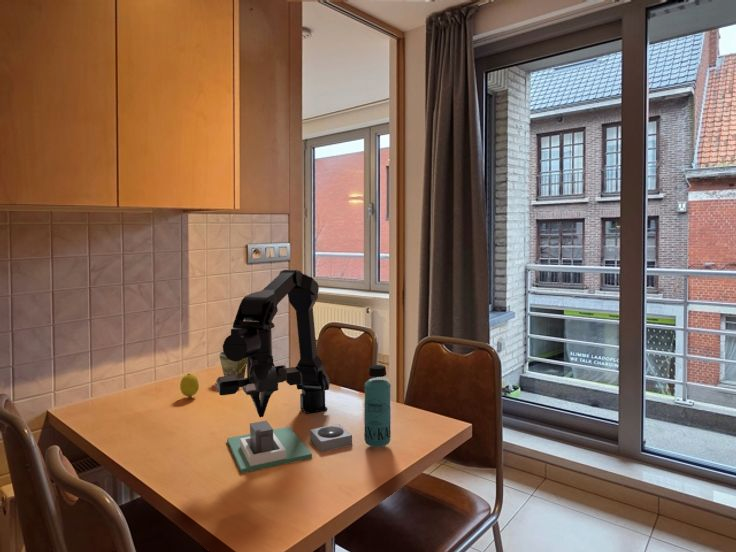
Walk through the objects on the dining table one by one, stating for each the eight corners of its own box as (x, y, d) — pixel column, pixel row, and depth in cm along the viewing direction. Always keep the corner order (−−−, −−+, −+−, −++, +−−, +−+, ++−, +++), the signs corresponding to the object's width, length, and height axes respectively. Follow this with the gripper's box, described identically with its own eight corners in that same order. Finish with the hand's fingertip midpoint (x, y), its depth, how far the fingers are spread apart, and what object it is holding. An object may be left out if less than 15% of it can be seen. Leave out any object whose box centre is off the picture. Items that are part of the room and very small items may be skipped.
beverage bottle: (363, 442, 116) (362, 362, 115) (389, 441, 117) (389, 361, 116) (365, 454, 110) (364, 370, 108) (393, 452, 111) (392, 369, 109)
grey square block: (339, 433, 122) (339, 423, 122) (352, 445, 115) (352, 434, 115) (310, 439, 119) (310, 428, 118) (321, 451, 111) (321, 440, 111)
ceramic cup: (214, 380, 170) (214, 352, 169) (239, 374, 177) (238, 348, 177) (234, 387, 161) (233, 358, 161) (259, 381, 169) (258, 353, 168)
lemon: (202, 395, 153) (201, 371, 152) (191, 401, 148) (190, 376, 147) (188, 394, 155) (187, 370, 154) (176, 399, 149) (175, 375, 149)
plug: (267, 444, 113) (266, 420, 113) (274, 456, 107) (274, 430, 107) (250, 448, 112) (249, 423, 111) (257, 460, 105) (256, 434, 105)
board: (289, 430, 124) (289, 419, 124) (312, 457, 108) (311, 445, 108) (227, 441, 117) (226, 430, 117) (241, 473, 101) (241, 460, 101)
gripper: (222, 363, 97) (225, 437, 98) (309, 353, 105) (310, 421, 106) (214, 352, 107) (217, 419, 108) (294, 343, 115) (295, 406, 116)
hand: (261, 416), depth 109 cm, fingers closed
